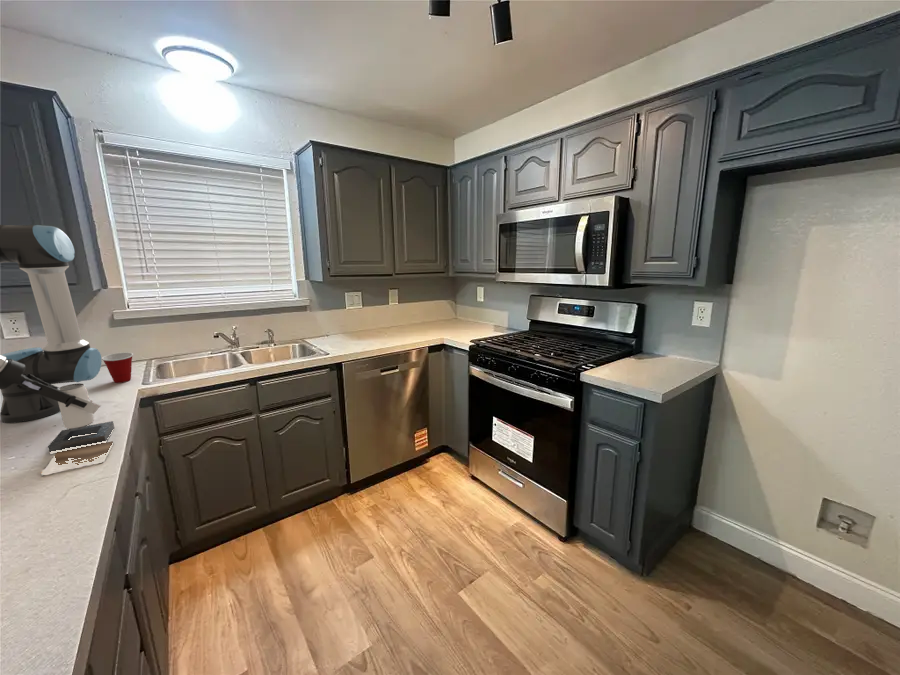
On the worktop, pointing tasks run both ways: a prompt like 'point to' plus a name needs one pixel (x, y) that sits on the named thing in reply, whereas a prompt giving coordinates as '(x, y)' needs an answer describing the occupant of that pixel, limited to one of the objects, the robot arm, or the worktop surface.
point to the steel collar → (63, 442)
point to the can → (72, 414)
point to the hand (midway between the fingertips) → (92, 407)
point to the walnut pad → (83, 453)
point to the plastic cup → (119, 366)
